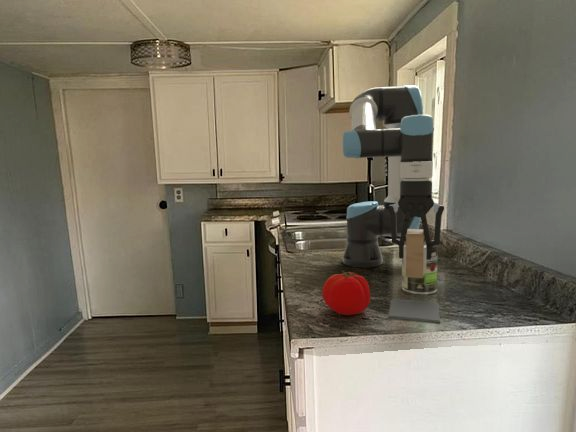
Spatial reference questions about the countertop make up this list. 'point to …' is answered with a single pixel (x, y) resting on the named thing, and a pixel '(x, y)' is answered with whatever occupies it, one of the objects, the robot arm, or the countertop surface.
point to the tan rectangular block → (414, 253)
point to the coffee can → (429, 278)
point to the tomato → (346, 293)
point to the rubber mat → (414, 310)
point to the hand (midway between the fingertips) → (414, 270)
